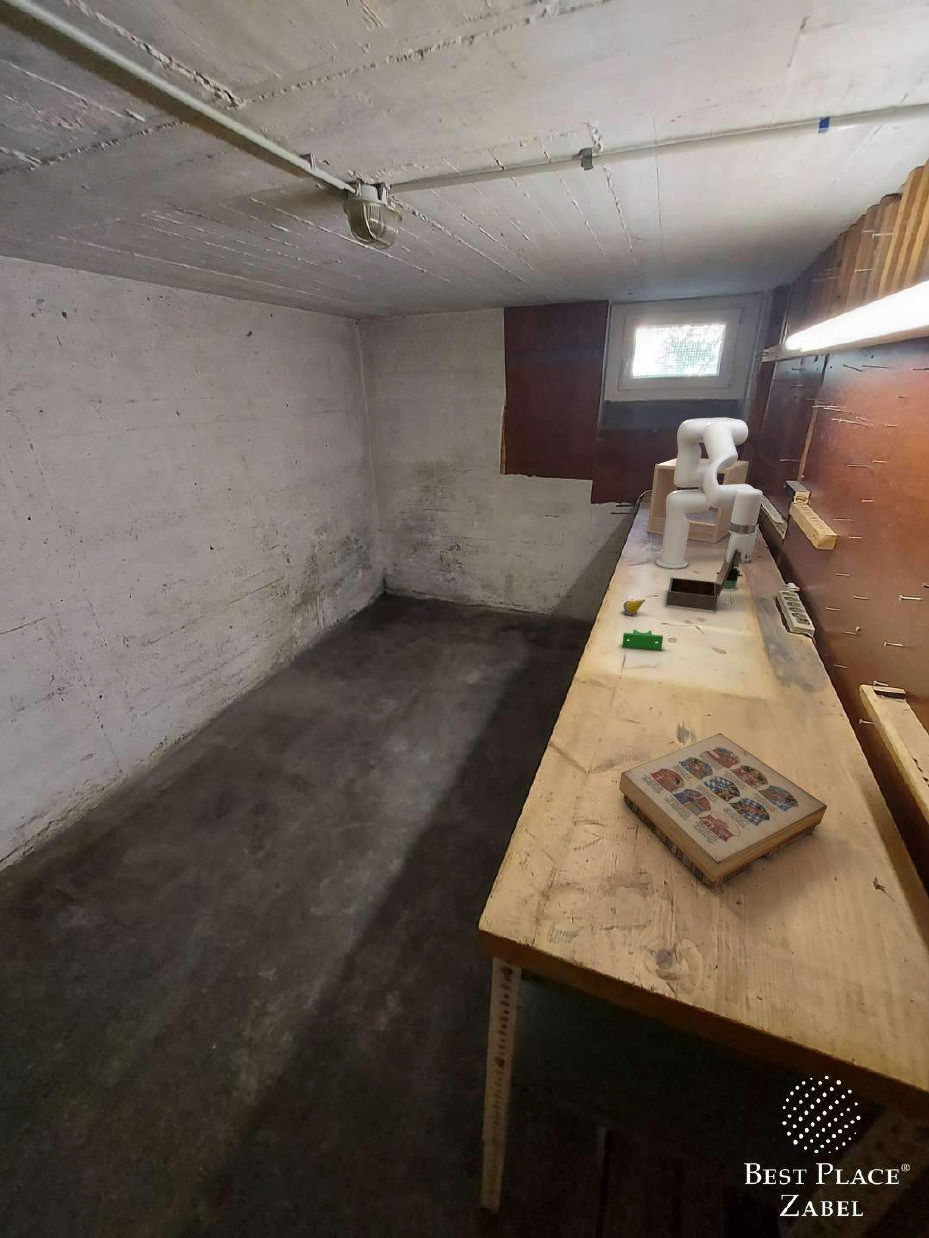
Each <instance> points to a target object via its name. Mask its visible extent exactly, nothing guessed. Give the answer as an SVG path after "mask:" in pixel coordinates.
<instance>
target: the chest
mask: <svg viewBox="0 0 929 1238" xmlns="http://www.w3.org/2000/svg"><path fill="white" fill-rule="evenodd" d="M718 597H719V596H717V593H716V581H707V580H701V579H700V580H697V579H689V578H678V577H670V579H669V585H668V591H667V597H666V603H665V605H666V606H671V607H672V606H673V607H679V608H688V609H696V610H704V611H712V612H715V611H716V607H717V601H718Z"/></svg>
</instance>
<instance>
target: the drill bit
mask: <svg viewBox="0 0 929 1238" xmlns="http://www.w3.org/2000/svg"><path fill="white" fill-rule="evenodd" d="M644 602H646V599H640V600H632V601H631V600H626V601H625V602H623V612H624V613H625V614H624V616H627V615H628V616H630V617H633V616H635V615H636V614H637V613H638V611H639V609H640V608H641V607H642V605H643V604H644Z"/></svg>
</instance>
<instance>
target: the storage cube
mask: <svg viewBox="0 0 929 1238" xmlns="http://www.w3.org/2000/svg"><path fill="white" fill-rule="evenodd" d="M676 461H677V457H676V458H673V459H670V460H667V461H664V462H661V463H658V464H655V465H654V472H653V473H654V474H653V481H652V490H651V495H650V497H651V499H650V505H649V506H650V507H649V513H648V520H647V530H646V532H647V533H649V534H650V533H651V534H655V535H661V536H662V535H663V536H664V529H665V521H666V498H667V496H668V495H669V494H670V493H671V492H674V491H678V488H679V487H677V486H676V485H675V484H674V473H675V467H676ZM700 462H710V461H709V458H702V457H701V458H700ZM749 464H750V462H749V461H748V460H737V461H736V462H735V463H734V464H733V465H732V466H730V467H729V468H727V469H725V470H722V471H720V472H718V473H717V474H724V477H723V482H722V485H731V484H746V478H747V474H748V469H749ZM732 512H733V508H732V507H731V508H717V514H716V519H715V523H712V522H704V521H698V520H690V519H687V520H688V521H689V533H688V539H687V540H694V541H698V542H699V541H700V542H705V543H712V544H715V543H717V542H719V541H720V540H721V539H723V538H724V537H726V536H727V535H729V534H731V533H730V532H729V527H730V522H731V517H732Z"/></svg>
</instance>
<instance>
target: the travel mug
mask: <svg viewBox="0 0 929 1238" xmlns="http://www.w3.org/2000/svg"><path fill="white" fill-rule="evenodd" d="M761 518H762V515H761V514H759V515H758V519H757V524H756V528H755V533H754V534H752V535H750V537H749V542H748V547H747V551H746V553H747V558H746V559H744V562H743V564H749V563H751V560H752V556H753V551H754V548H755V543H756V538H757V534H758V529H759V526H760V520H761Z"/></svg>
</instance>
